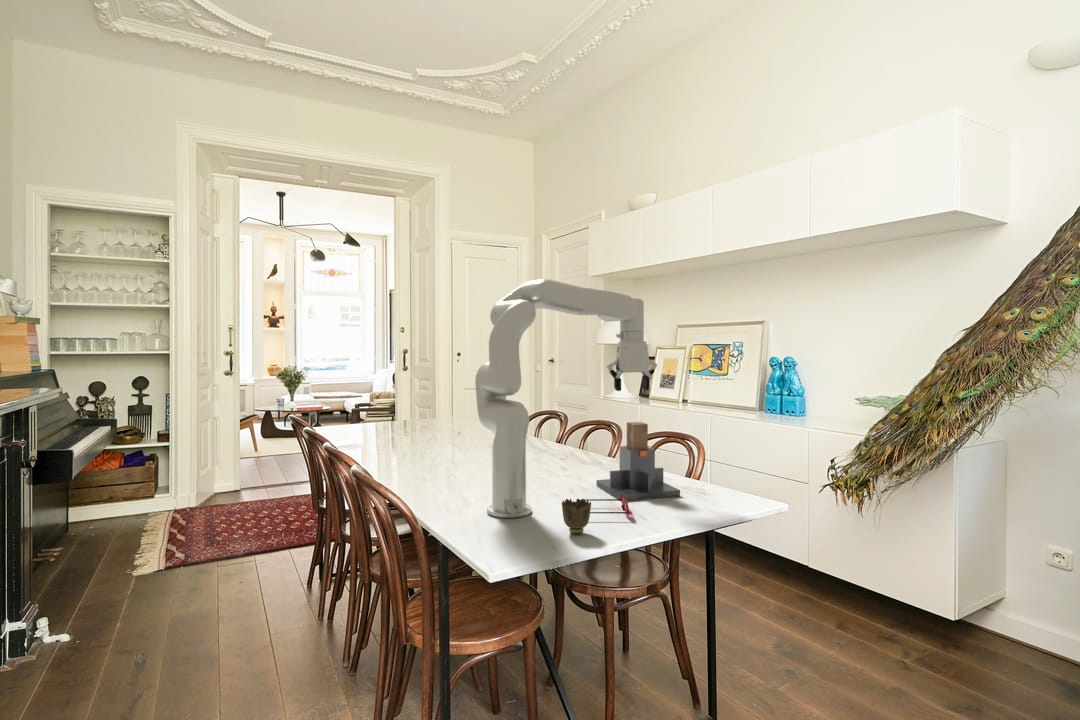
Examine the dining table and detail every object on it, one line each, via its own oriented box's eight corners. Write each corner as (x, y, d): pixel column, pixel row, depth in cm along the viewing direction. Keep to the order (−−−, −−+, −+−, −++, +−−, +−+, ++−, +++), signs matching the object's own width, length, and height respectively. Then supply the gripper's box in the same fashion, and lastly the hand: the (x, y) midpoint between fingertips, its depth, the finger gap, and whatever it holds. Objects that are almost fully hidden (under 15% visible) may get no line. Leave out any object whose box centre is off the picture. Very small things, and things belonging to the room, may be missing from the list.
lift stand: (680, 496, 187) (680, 451, 187) (620, 501, 182) (620, 455, 181) (650, 482, 206) (651, 441, 206) (596, 486, 201) (596, 444, 200)
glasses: (632, 522, 162) (632, 504, 162) (570, 522, 162) (570, 504, 162) (625, 508, 176) (625, 491, 176) (568, 508, 176) (568, 491, 176)
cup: (589, 528, 155) (589, 497, 155) (592, 537, 148) (593, 505, 147) (560, 528, 155) (560, 498, 155) (562, 538, 147) (562, 505, 147)
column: (647, 483, 192) (647, 423, 192) (632, 484, 191) (633, 424, 190) (640, 479, 197) (640, 421, 196) (626, 480, 196) (626, 422, 195)
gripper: (611, 337, 187) (611, 392, 188) (661, 336, 192) (661, 390, 192) (602, 337, 194) (602, 390, 195) (650, 337, 199) (650, 388, 200)
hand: (631, 390), depth 194 cm, fingers open, 9 cm apart
